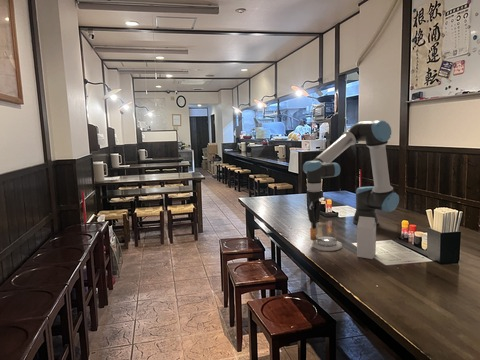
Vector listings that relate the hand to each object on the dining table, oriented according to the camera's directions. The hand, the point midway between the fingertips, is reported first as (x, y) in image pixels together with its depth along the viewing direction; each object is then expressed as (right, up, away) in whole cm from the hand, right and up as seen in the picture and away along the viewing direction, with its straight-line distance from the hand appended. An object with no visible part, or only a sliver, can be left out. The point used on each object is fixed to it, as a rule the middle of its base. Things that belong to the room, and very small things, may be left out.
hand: (315, 234), depth 185 cm
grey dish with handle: (+4, -4, -3) cm, 7 cm away
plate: (+5, -6, -3) cm, 9 cm away
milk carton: (+20, -8, -19) cm, 29 cm away
